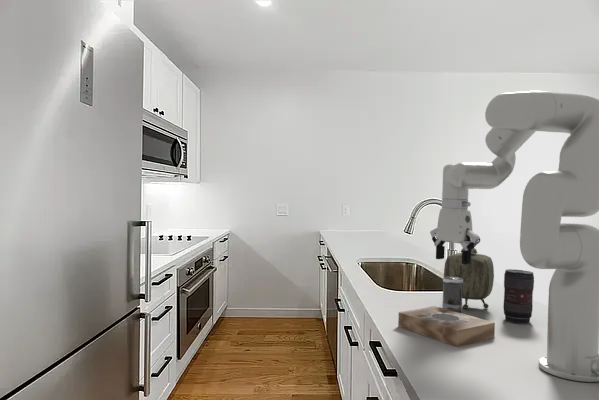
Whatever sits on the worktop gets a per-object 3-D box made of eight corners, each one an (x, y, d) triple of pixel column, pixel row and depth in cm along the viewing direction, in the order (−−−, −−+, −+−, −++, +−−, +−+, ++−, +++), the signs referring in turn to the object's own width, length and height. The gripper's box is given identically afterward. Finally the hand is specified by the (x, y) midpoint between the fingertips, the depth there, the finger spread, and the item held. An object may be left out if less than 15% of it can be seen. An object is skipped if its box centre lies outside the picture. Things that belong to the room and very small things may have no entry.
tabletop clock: (493, 308, 156) (495, 233, 156) (487, 314, 148) (489, 235, 148) (449, 302, 164) (450, 230, 164) (441, 307, 156) (443, 232, 156)
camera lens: (536, 325, 136) (537, 274, 136) (506, 323, 138) (507, 272, 138) (528, 318, 144) (529, 269, 144) (500, 316, 146) (501, 268, 146)
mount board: (494, 337, 124) (494, 322, 123) (456, 346, 115) (457, 330, 115) (434, 319, 140) (435, 306, 140) (398, 326, 132) (398, 312, 132)
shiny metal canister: (466, 318, 142) (467, 279, 142) (453, 321, 139) (454, 280, 139) (450, 314, 147) (451, 276, 147) (437, 316, 144) (438, 277, 144)
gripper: (487, 206, 137) (485, 264, 138) (440, 203, 152) (438, 256, 152) (470, 206, 133) (468, 266, 134) (424, 203, 148) (422, 257, 148)
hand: (452, 261), depth 143 cm, fingers open, 9 cm apart
